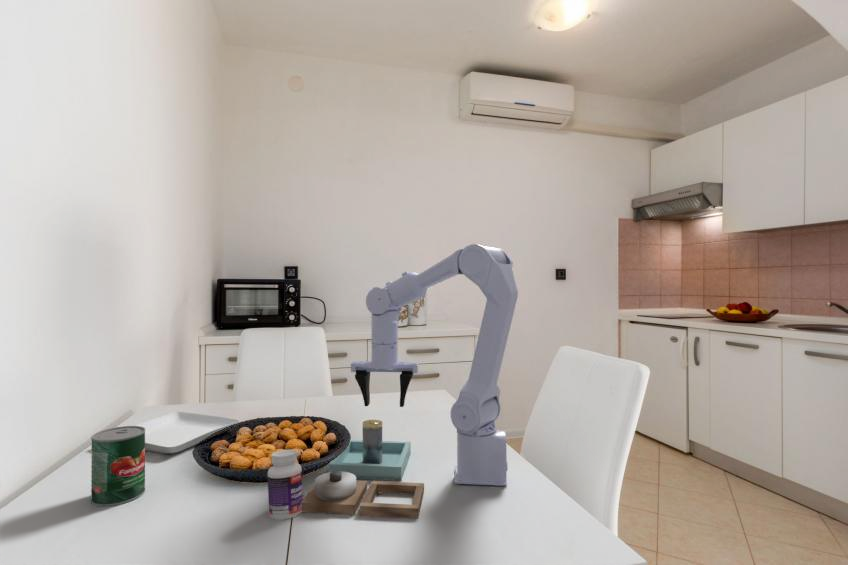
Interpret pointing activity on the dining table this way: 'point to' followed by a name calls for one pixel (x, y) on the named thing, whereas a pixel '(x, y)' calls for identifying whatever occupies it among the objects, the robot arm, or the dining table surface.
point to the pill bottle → (285, 485)
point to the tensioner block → (360, 496)
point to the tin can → (372, 442)
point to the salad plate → (181, 430)
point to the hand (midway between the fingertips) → (384, 405)
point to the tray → (389, 469)
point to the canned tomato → (118, 465)
